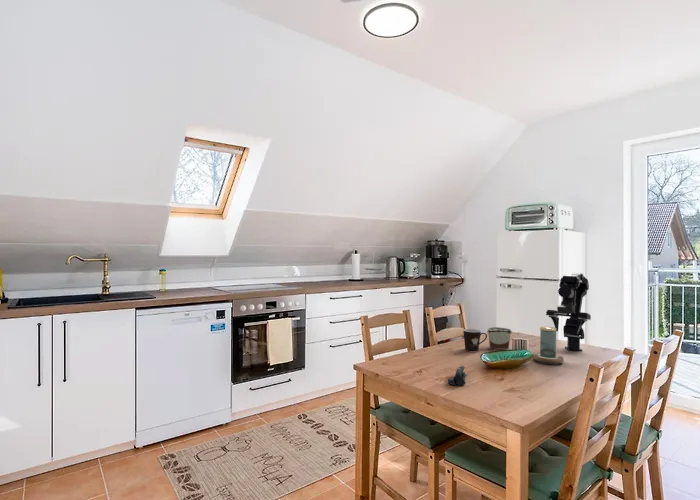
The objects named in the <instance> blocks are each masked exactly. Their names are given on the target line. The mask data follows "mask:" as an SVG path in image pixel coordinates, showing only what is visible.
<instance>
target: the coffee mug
mask: <svg viewBox="0 0 700 500" xmlns="http://www.w3.org/2000/svg"><path fill="white" fill-rule="evenodd" d="M462 332H463V340H464V341H463V342H464V348H465V349H466V350H468V351H467V352H470V351H477V352H479V347H480V345H481V344H482V343H483V342H485V341H486V340H487V338H488V335H487V334H488V333H487V332H482V331H481V330H480V329H476V328H464V329H463V331H462ZM482 335H485V338H484V339H483V340H481V336H482ZM480 340H481V341H480ZM465 349H464V350H465ZM466 350H465V351H466Z"/></svg>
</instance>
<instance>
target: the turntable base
mask: <svg viewBox="0 0 700 500" xmlns="http://www.w3.org/2000/svg"><path fill="white" fill-rule="evenodd" d="M535 361H536V362H538V363H540V364H545V365H559V364H561V363H547V362H541V361H538V360H535Z"/></svg>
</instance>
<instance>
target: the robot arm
mask: <svg viewBox="0 0 700 500" xmlns="http://www.w3.org/2000/svg"><path fill="white" fill-rule="evenodd" d="M589 284H590V283H589V280H588V278H586V277H585V276H584V273H583V272H572V274H562V277H561V278H560V281H559V288H558V290H557V293H558V295H559V296H560V297H561V298H562V300H561V302H560V304H559V305H557V306H556V310H554V309H547V310H546V312H545V313H546V314H545V315H546V316H548V318H550V319H551V321H552V322H553V325H554V326H553V327H554V328H556V332H558V331H559V321H560V318H559V317H569V318H566V319H565V323H564V325H563V338H567V340H566V342H567V343H566V344H567V346H564V348H565V349H567V350H568V351H577V352H583V349H582V348H581V340H585V331H584V328H583V325H584V324H585V323H586V322H588V321H591V314H590V313H588V312H581V311H582V304H583V299H584V297H585V296H586V295H588V294H587V293H588V291H589V289H590V285H589Z"/></svg>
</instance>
